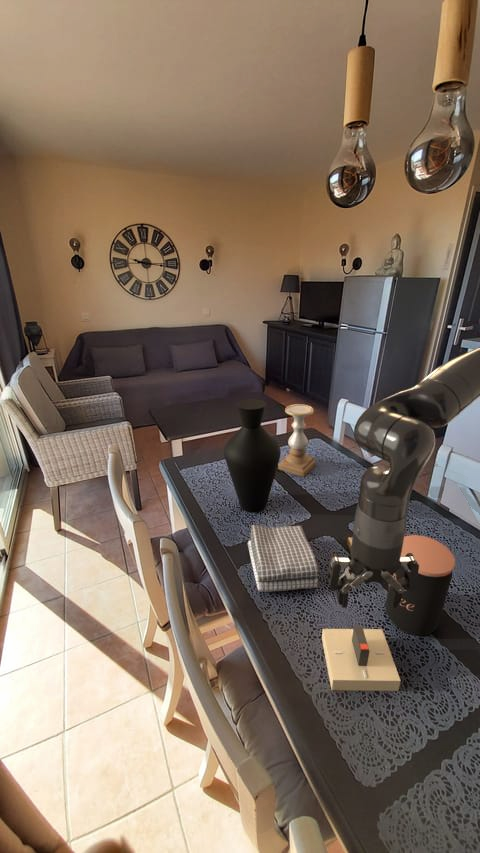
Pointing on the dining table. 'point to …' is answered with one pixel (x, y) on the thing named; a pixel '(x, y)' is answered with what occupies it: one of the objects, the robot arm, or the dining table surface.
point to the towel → (282, 559)
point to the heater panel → (345, 666)
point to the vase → (252, 457)
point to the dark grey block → (360, 646)
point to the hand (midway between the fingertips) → (367, 603)
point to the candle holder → (298, 443)
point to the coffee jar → (423, 586)
